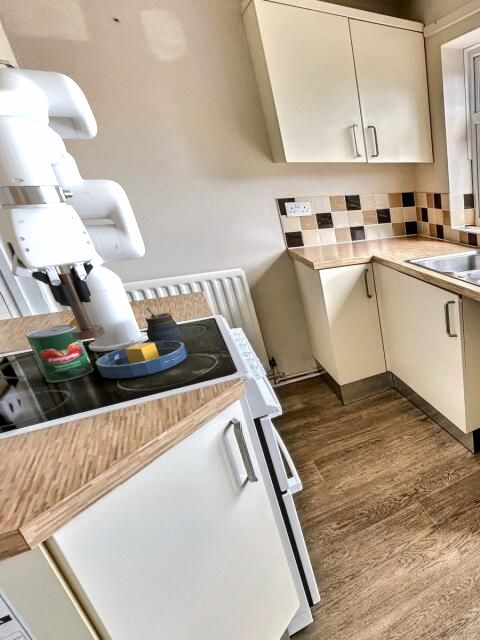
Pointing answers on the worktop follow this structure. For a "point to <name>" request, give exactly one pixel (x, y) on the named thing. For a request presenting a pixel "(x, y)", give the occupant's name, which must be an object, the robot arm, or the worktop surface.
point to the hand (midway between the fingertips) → (75, 302)
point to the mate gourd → (162, 327)
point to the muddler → (80, 312)
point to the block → (141, 352)
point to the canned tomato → (59, 353)
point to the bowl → (120, 366)
